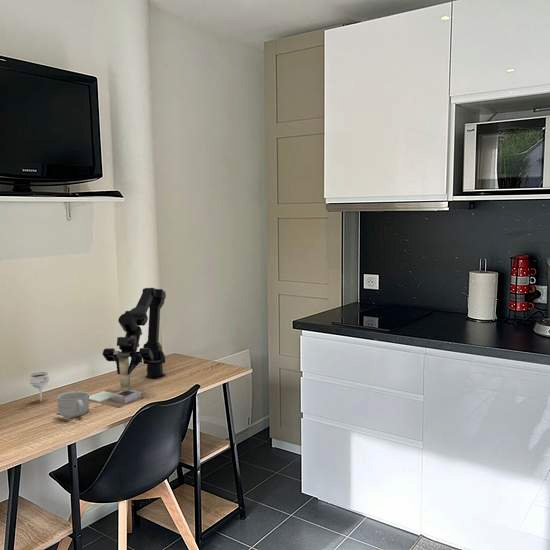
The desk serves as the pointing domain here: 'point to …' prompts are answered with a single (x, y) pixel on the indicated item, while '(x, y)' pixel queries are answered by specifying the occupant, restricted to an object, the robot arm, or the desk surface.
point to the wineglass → (39, 381)
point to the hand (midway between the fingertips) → (123, 374)
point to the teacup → (73, 404)
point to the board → (114, 404)
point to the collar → (126, 396)
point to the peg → (124, 370)
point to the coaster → (100, 396)
